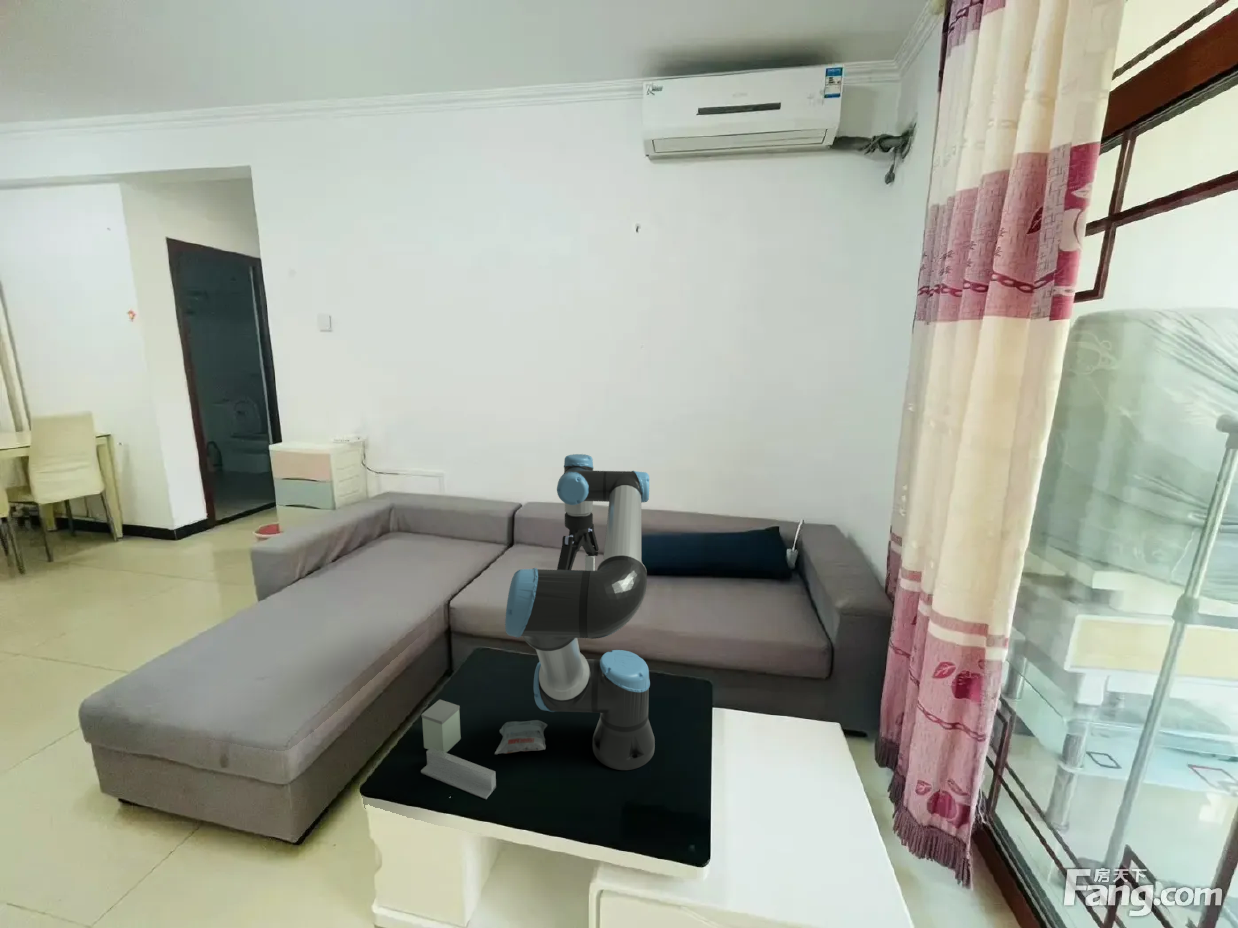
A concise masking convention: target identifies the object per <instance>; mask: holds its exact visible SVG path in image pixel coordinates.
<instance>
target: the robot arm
mask: <svg viewBox="0 0 1238 928" xmlns="http://www.w3.org/2000/svg"><path fill="white" fill-rule="evenodd" d="M593 460H594V459H593V457H592V456H590V454H589V455H588V454H583V453H581V454H579V453H576V454H574V453H573V454H568V455H566V456H565V457H564V463H563V464H564V465H563V469H564V470H563V471H564V472H563V474H562V475H561V476H560V477H559V480H558V482H557V486H556V492H557V497H558V498H559V499H560V500H561V502H563V503H564V512H565V513H564V526H565V528H566V529H568V530H569V531H568V535H563V536H562V539H561V541H562V543H561V544H562V545H561V549H560V553H559V558H558V562H557V568H556V569H545V568H543V569H538V568H537V567H534V568H522V569H518V570H516V572H514V573H513V576H512V578H511V581H510V586H509V590H508V594H507V600H506V610H505V617H504V618H505V619H504V621H505V622H504V625H505V633H506V634H507V635H508V636H510V637H515V638H520V637H522V638H523V639H524V641H525V643H526V644H527V645H529V646H530V647H532V648H533V649H535V651H536V654H537V658H538V661H539V662H537V664H536V667H535V670H534V676H533V677H534V678H533V693H534V695H533V696H534V701H535V704H536V706H537V707H538V708H539V709H540V710H541V711H548V712H551V713H555V712H569V713H595V714H596V713H599V720H598V722H597V725H596V728H595V730H594V733H593V735H592V752H593V754H594V756H595V758H596V759H597V760H598V761H599V762H600V763H601V764H602V765H604V766H606V767H608V768H611V769H614V770H617V771H618V770H619V771H630V770H636V769H638V768H641V767H643V766H645V765H646V764H647V763H648V762H649V761H651V759H652V758H653V756H654V753H655V748H656V747H655V746H656V745H655V743H656V742H655V741H656V740H655V736H654V733H653V729H652V726H651V723H650V720H649V693H650V692H649V688H650V686H651V681H650V671H649V670H650V669H649V666H648V664H647V662H646V661H645V660H644V658H642V657H640V656H639V655H638V654H636V653H635V652H632V651H630V650H629V651H628V650H622V649H612V650H611V651H607V652H605V653H604V654H603V655H602V656H601V658H599V659H591V658H590V659H588V658H587V659H586V657H585V656H584V655H583V654H582V653H581V652H580V651H581V650H580V646H579V639H589V640H590V639H591V640H592V639H602V638H606V637H608V636H610V635H613V634H615V633H616V632H618V631H619V630H621V629H622V628H624V626H626V625H627V624H628V623H629V622H630V621H631V619H633V618H634V616H635V614H636V613H637V612H638V610H639V608H640V607H641V605H642V603H643V601H644V599H645V595H646V592H647V588H648V585H647V584H648V576H647V575H648V571H647V568H646V566H645V565H644V564H643V561H642V503H647V502H649V500H650V499H649V498H650V475H649V473H648V472H646V471H635V470H630V471H629V470H627V471H625V470H594V461H593ZM594 502H598V503H599V502H600V503H601V502H603V503H604V502H606V503H608V509H607V521H606V530H605V540H604V548H603V559H602V561H601V562H600V563H599V564H598V566H597V569H596V570H595V567H596V566H595V564H596V563H595V561H596V560H595V557H598V556H599V545H598V540H597V537H596V533H595V526H594V515H593V511H594ZM581 547H582V548H583V550H584V552H585V553H586V555H584V570H583V569H580V570H579V569H578V570H577V569H572V568H573V566H574V562H575V559H576V556H577V554H578V552H579V551H580V550H581Z"/></svg>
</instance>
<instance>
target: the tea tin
mask: <svg viewBox="0 0 1238 928" xmlns="http://www.w3.org/2000/svg"><path fill="white" fill-rule="evenodd" d="M460 709H461V707H460V705H459V704H455V703H453V702H449V701H447V700H446V701H445V700H443V699H438V700H437V701H436V702H435V703H434V704H432V705H431V706H430V707H429V708H427V709H426V710H425V711H424V712H422V714H421V713H420V714H421V718H422V735H423V737H422V738H423V748H424V749H427V751H428V750H429V749H430V748H431V747H432V748H435V749H437V750H440V751H443V752H445V753H448V752H449V751H450V750H451V749H452V748H453V747H454V746H455V745H456V744H458V742H459V741H460V740H461V739H462V737H461V719H460Z"/></svg>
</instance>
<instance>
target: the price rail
mask: <svg viewBox="0 0 1238 928" xmlns="http://www.w3.org/2000/svg"><path fill="white" fill-rule="evenodd" d="M420 773H421V774H422V775H426V776H427V777H430V778H433V779H435V780H437V781H440V782H442V783H444V784H447V785H449V786H452V787H454V788H457V789H460V790H462V791H464V792H466V793H469V794H471V795H474V796H476V797H480V798H482V799H484V800H487V799H488V798H489V797H490V795H491V794H492V793H493V791H495V789H496V788H497V779H496V771H495V770H493V769H491V768H490V769H489V768H487V767H485V766H482V765H479V764H477V763H474V762H471V761H468V760H466V759H463V758H461V757H459V756H457V755H453V754H450V753H448V752H447V753H445V752H443V751H440V750H437V749H435V748H432V747H431V748H430V749H429V750H428V749H427V750H426V766H424V767H423V768H422V769H421V770H420Z"/></svg>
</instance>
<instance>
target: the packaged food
mask: <svg viewBox="0 0 1238 928" xmlns="http://www.w3.org/2000/svg"><path fill="white" fill-rule="evenodd" d="M547 727H548V724H547V723H545V722H543V721H542V720H539V719H533V720H527V721H525V720H524V721H507V722H505V723H504V724H503V725H502V726H501V728H500V729H499V734H501V736H502V739H501V741H500V743H499V745H498V747H497V748H496V751H495V752H494V755H498V754H512V753H518V752H531V751H543V750H544V751H545V750H546V747H547V745H546V738H545V736H544V731H545V730H546V728H547Z"/></svg>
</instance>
